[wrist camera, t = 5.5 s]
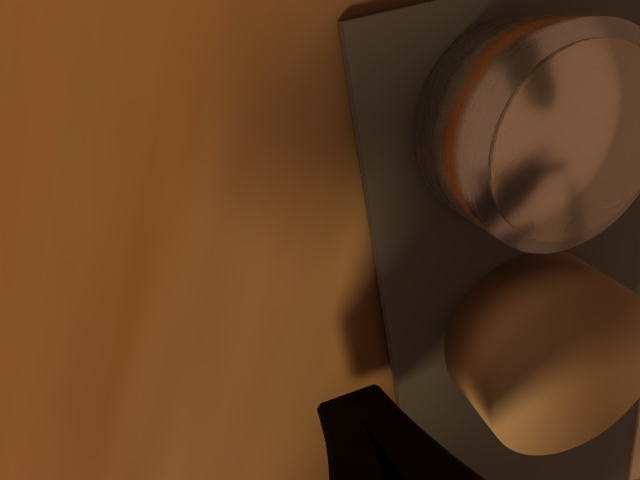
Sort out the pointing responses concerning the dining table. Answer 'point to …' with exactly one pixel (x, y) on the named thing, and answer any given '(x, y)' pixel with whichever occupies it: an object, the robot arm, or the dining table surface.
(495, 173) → the tealight tin
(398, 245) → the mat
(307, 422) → the dining table surface
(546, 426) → the beech disc
